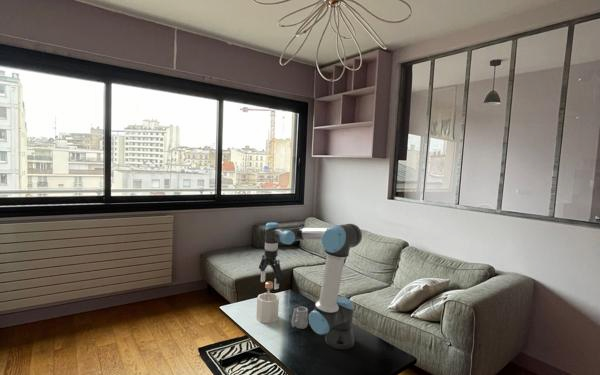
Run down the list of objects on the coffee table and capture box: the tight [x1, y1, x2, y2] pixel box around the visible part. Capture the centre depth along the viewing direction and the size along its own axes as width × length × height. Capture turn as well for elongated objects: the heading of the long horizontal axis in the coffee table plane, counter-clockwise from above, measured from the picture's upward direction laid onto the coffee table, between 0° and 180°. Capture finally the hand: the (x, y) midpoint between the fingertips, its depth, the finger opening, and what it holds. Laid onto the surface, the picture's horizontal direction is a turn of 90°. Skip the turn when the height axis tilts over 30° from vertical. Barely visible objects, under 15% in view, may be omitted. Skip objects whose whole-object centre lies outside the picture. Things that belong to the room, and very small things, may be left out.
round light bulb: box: [264, 281, 274, 301], centre depth 196 cm, size 9×9×18 cm
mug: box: [290, 306, 309, 330], centre depth 189 cm, size 8×12×12 cm, turn 136°
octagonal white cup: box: [256, 292, 280, 324], centre depth 198 cm, size 16×12×13 cm
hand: (269, 285), depth 195 cm, fingers open, 13 cm apart
